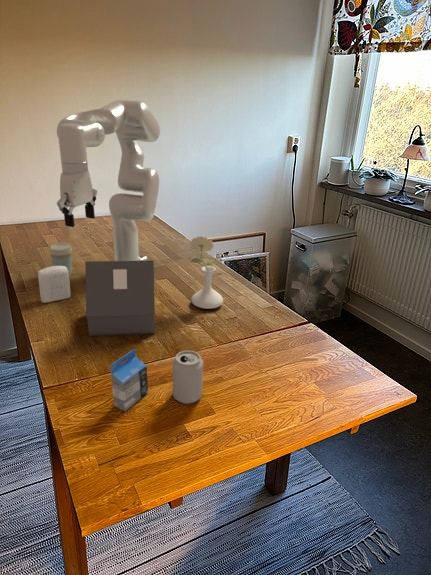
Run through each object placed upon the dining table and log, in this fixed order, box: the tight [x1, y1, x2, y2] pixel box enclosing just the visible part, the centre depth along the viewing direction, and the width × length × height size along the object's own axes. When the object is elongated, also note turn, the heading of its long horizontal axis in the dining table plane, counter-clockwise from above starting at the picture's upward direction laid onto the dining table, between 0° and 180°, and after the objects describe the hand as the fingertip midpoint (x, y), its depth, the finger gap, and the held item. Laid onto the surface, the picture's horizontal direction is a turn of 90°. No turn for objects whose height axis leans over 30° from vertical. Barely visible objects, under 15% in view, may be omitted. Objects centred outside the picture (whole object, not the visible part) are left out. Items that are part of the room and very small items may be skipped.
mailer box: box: [86, 314, 155, 337], centre depth 146 cm, size 16×20×7 cm
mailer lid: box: [84, 259, 156, 318], centre depth 138 cm, size 17×20×1 cm
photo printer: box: [37, 265, 72, 304], centre depth 158 cm, size 10×4×12 cm, turn 123°
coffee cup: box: [48, 243, 73, 278], centre depth 176 cm, size 8×8×12 cm
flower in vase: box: [189, 236, 224, 310], centre depth 156 cm, size 13×11×25 cm
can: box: [172, 350, 204, 404], centre depth 113 cm, size 8×8×12 cm
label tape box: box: [110, 348, 149, 412], centre depth 111 cm, size 9×4×12 cm, turn 148°
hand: (80, 221), depth 144 cm, fingers open, 9 cm apart
